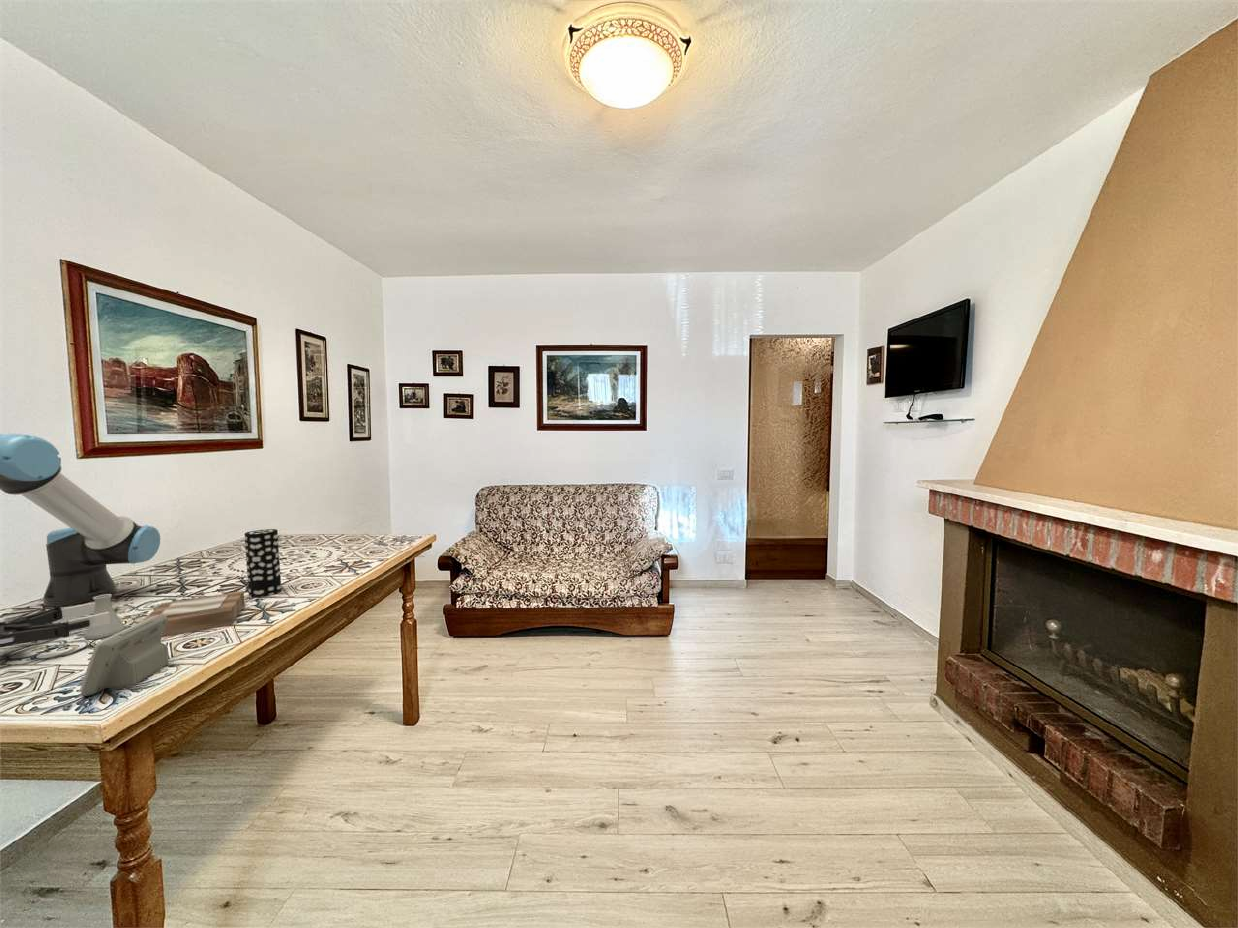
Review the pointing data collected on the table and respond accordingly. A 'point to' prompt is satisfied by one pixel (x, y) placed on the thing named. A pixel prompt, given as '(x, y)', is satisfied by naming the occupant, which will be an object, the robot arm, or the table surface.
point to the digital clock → (127, 656)
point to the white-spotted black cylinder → (263, 562)
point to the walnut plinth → (200, 613)
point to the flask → (108, 629)
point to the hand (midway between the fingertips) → (105, 611)
